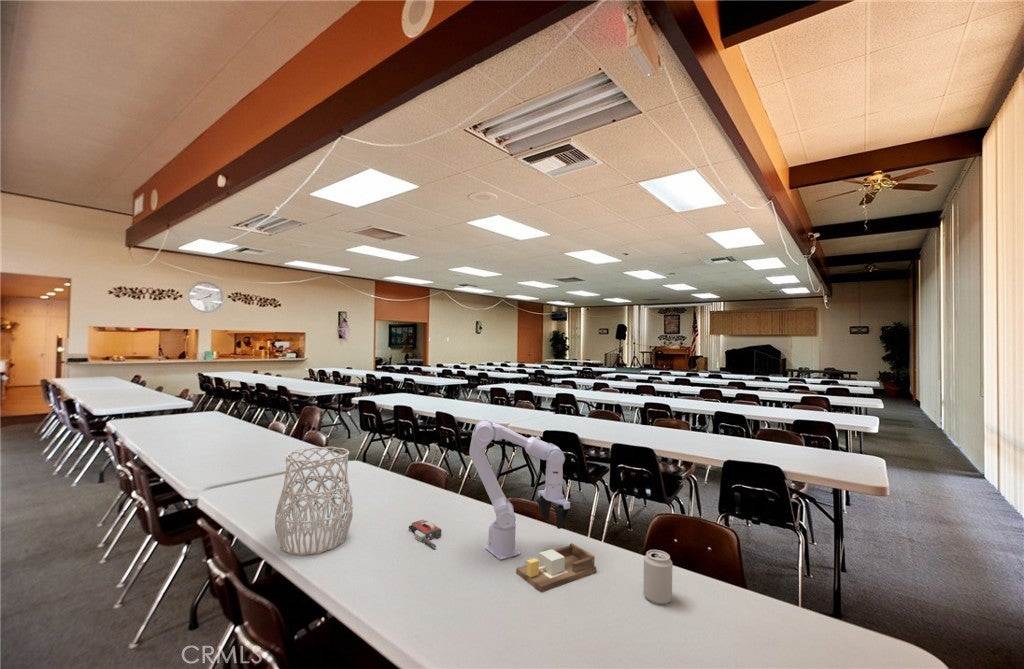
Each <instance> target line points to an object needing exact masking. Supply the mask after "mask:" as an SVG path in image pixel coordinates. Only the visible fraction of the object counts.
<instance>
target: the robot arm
mask: <svg viewBox="0 0 1024 669" xmlns="http://www.w3.org/2000/svg"><path fill="white" fill-rule="evenodd" d="M493 439H494V441H495V442H496V441H499V440H500V441H501V440H506V441H508V442H511V443H512V444H516V445H518V446H521V447H522V448H524V450H525V452H526V454H529V455H531V456H533V457H536V458H538V459H540V460H543V461H546V463H545V467H546V468H545V482H544V483H545V484H544V485H545V487H544V489H545V490H544V489H541V490H538V491H537V497H539V498H537V499H536V502H537V504H538V507H539V509H540V513H541V518H542V521H543V522H545V521H549V520H550V511H551V507H552V506H551V505H552V503H554V504H556V505H558V506H556V507H555V506H554V507H553V510H554V512H555V519H556V528H557V529H558V530H560V529H564V526H565V523H566V520H567V516H568V515H569V513H570V511H571V510H572V509H571V502H570V501H568V500H567V499H566V498H565V495H564V494H563V479H564V478H563V477H564V473H563V471H564V470H563V466H564V464H565V460H566V457H565V454H564V452H563V451H562V450H561V449H560V447H559V446H557V445H556V444H553V443H551V442H546V441H543V440H541V437H539V436H536V437H535V436H531V437H525V436H523V435H522V434H519V433H517V431H513V430H512V429H510V428H508V427H505V426H503V425H501V424H499V423H496V422H493V421H489V420H487V419H482V420H479V421H478V422H477V423H476V424H475V426H474V428H473V430H472V434H471V441H470V445H469V456H470V458H471V461H472V463H473V465H474V467H475V469H476V471H477V474H478V476H479V478H480V480H481V482H482V484H483V486H484V489H485V491H486V493H487V495H488V497H489V500H490V501H491V505H492V507H493V510H494V513H495V517H496V519H495V520H494V521H492V522H491V523H490V525H489V527H488V537H487V538H488V542H487V546H485V550H487V551H488V552H489V553H491V555H493V556H494V557H496V558H498V560H501V561H502V560H505V559H509V558H512V557H516V556H519V555H521V552H520V551H519V550H517V549H516V529H517V527H516V526H517V524H516V522H517V521H516V515H515V512H514V505H513V503H511V501H509V500H508V498H507V497H506V495H505V494H504V491H503V490H502V488H501V486H500V484H499V481H498V478H497V476H496V475H495V473H494V471H493V468H492V466H491V464H490V462H489V460H488V458H487V455H486V453H485V452H486V450H487V448H488V447H487V446H489V444H490V443H491V442H492V440H493Z"/></svg>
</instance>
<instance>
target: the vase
mask: <svg viewBox="0 0 1024 669" xmlns="http://www.w3.org/2000/svg"><path fill="white" fill-rule="evenodd" d="M329 449H330V450H329ZM322 450H324V451H327V452H325V453H324V454H323V455H322V454H321V453H320V451H322ZM307 451H310V452H312V453H311V454H310V455H309V456H307V455H305V454H304V453H306V452H307ZM334 451H338V452H339V453H338V454H337V455H336V454H335V453H334ZM294 454H298V455H297V457H296V458H294V457H293V456H294ZM315 454H316V455H318V456H319V457H320V458H319V459H311V457H312V456H314V455H315ZM329 454H331V456H333V457H330V458H329V459H328V458H326V456H327V455H329ZM349 454H350V451H349V449H346V448H344V447H336V446H323V447H322V446H316V447H307V448H298V449H296V450H294V451H290V452H287V453H286V454H285V464H286V466H285V474H284V482H283V486H282V490H281V494H280V497H279V500H278V503H277V506H276V511H275V515H274V528H275V532H276V533H275V534H276V538H277V541H278V543H279V545H280V549H281V550H282V551H283V552H285V553H286V554H289V555H296V556H297V555H298V556H308V555H317V554H321V553H325V552H327V550H328V551H331V550H333V548H334V549H336V548H337V547H338V545H339V546H340V545H342V544H344V542H345V539H346V537H347V535H348V532H349V530H350V526H351V523H352V520H353V515H354V514H353V512H354V503H353V502H354V501H353V496H352V493H351V489H350V484H349V482H350V481H349V476H348V475H349V474H348V463H349ZM301 456H302V457H303V458H305V459H299V458H300V457H301ZM342 459H343V461H342V462H340V460H342ZM329 462H330V463H329ZM299 464H300V465H299ZM310 464H311V465H312V468H311V467H309V466H308V465H310ZM325 464H326V465H327V466H326V465H325ZM295 465H296V466H295ZM335 465H337V466H338V467H339V468H338V470H337V472H336V474H335V473H334V471H333V470H332V468H333V467H334V466H335ZM343 465H344V467H343ZM303 467H305V468H306V469H308V470H309V471H310V472H309V473H308V474H307V475H306V476H305V473H304V472H303ZM319 467H323V468H324V469H325V471H324V473H323V474H321V473H320V472H319V470H318V468H319ZM343 468H344V469H343ZM293 469H294V470H295V472H294V473H293V475H292V472H293ZM340 472H341V476H340ZM327 473H329V475H328V474H327ZM312 474H313V475H312ZM297 477H299V478H297ZM313 481H314V482H316V485H315V487H314V489H313V490H312V488H310V486H309V484H310V483H312V482H313ZM328 481H330V482H331V485H330V487H328V486H327V485H326V484H325V483H326V482H328ZM340 483H341V485H340ZM298 484H300V485H299V487H298V488H297V489H296V490H297V491H296V492H295V490H294V488H295V487H296V486H297V485H298ZM321 488H322V490H323V491H320V490H321ZM304 489H305V492H304ZM336 495H338V496H336ZM320 499H322V500H324V501H323V502H322V503H321V502H320V501H319V500H320ZM288 500H289V501H290V502H287V501H288ZM336 500H339V503H337V501H336ZM303 501H304V502H306V503H305V504H304V505H302V504H301V502H303ZM329 508H330V510H329ZM308 512H309V518H310V519H309V520H308ZM315 512H316V515H315ZM321 513H322V515H321ZM302 514H303V515H302ZM331 515H332V516H331ZM291 517H292V519H291ZM330 520H331V523H330ZM325 522H326V523H325ZM308 524H310V527H309V528H308V526H307V525H308ZM329 524H330V525H329ZM288 526H289V527H288ZM298 527H299V530H298ZM341 543H342V544H341ZM335 547H336V548H335ZM330 549H331V550H330ZM324 551H325V552H324Z"/></svg>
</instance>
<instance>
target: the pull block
mask: <svg viewBox="0 0 1024 669" xmlns="http://www.w3.org/2000/svg"><path fill="white" fill-rule="evenodd" d="M554 550H555V549H553V548H551V549H547V550H545V551H541V552H539V553H538V554H539V556H538V559H537V558H535V557H533V558H530V559H527V560H526V565H527V567H526V575H528V576H529V577H533V576H536V575H539V570H542V569H544V570H545V571H547V572H548V573H549V574H551V575H553V574H556V573H559V572H562V571H564V569H565V557H564V556H562V555H561V554H559V553H558V552H556V551H554Z"/></svg>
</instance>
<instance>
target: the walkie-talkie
mask: <svg viewBox="0 0 1024 669" xmlns="http://www.w3.org/2000/svg"><path fill="white" fill-rule="evenodd" d="M408 529H409V530H410V531H411V533H413V532H414V533H413V534H414V539H416V540H417V541H419V543H423V542H424V543H425V544H428V545H429V546H431V547H432V548H437V545H436V544H435V543H433V541H431V540H434V539H439V538H441V537H442V529H441V528H440V527H438V526H436V524H435V523H432V522H431V521H428V520H426V519H421V520H417V521H416V520H415V521H413V522H412V523H411V525H409V526H408Z"/></svg>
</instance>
